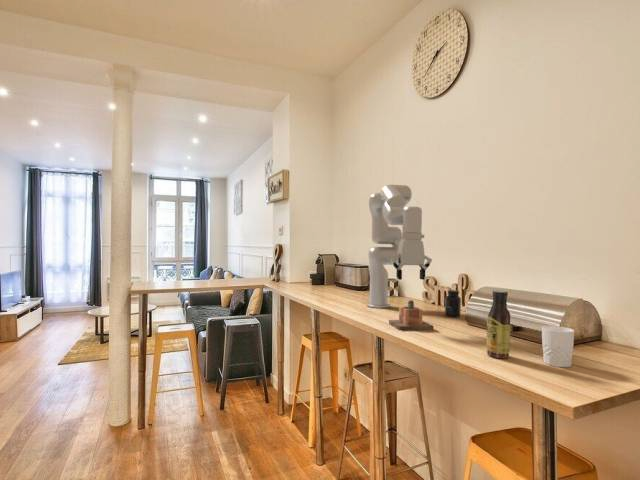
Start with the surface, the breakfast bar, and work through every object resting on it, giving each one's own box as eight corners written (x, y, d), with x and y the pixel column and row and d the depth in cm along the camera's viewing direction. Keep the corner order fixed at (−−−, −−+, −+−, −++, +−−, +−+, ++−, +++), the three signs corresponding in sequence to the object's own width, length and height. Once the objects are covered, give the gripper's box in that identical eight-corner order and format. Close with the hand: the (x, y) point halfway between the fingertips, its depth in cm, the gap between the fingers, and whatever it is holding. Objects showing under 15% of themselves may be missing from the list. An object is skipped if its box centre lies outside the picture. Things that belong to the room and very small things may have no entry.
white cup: (562, 369, 100) (562, 333, 100) (535, 361, 107) (535, 326, 107) (580, 366, 103) (580, 330, 103) (552, 358, 110) (553, 324, 110)
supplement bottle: (444, 316, 170) (444, 290, 170) (445, 314, 176) (445, 289, 177) (460, 318, 168) (460, 291, 168) (460, 315, 174) (461, 290, 174)
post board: (388, 323, 153) (389, 298, 154) (420, 323, 156) (420, 297, 156) (399, 330, 142) (399, 302, 142) (433, 329, 144) (433, 302, 144)
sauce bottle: (483, 352, 114) (484, 289, 114) (503, 353, 114) (504, 289, 114) (492, 359, 108) (493, 291, 108) (514, 360, 108) (515, 292, 108)
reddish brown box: (398, 321, 152) (399, 306, 152) (415, 320, 153) (415, 306, 153) (405, 325, 145) (405, 309, 145) (422, 324, 146) (422, 309, 146)
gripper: (427, 237, 154) (426, 278, 154) (388, 236, 151) (387, 278, 151) (436, 237, 147) (435, 280, 147) (394, 237, 144) (393, 280, 144)
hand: (410, 279), depth 149 cm, fingers open, 9 cm apart
